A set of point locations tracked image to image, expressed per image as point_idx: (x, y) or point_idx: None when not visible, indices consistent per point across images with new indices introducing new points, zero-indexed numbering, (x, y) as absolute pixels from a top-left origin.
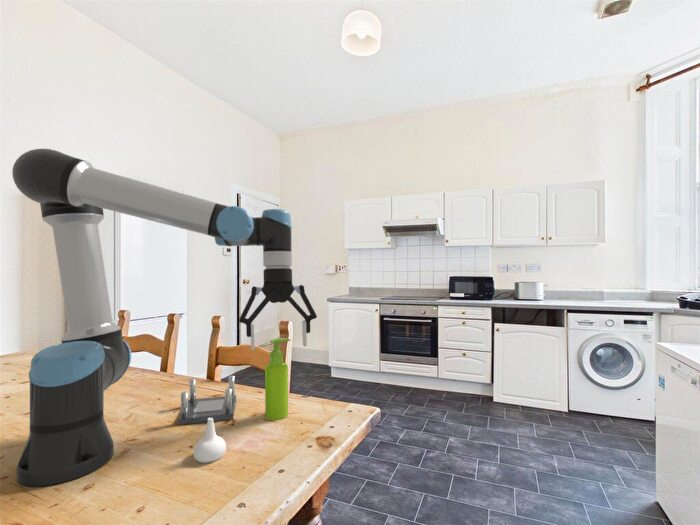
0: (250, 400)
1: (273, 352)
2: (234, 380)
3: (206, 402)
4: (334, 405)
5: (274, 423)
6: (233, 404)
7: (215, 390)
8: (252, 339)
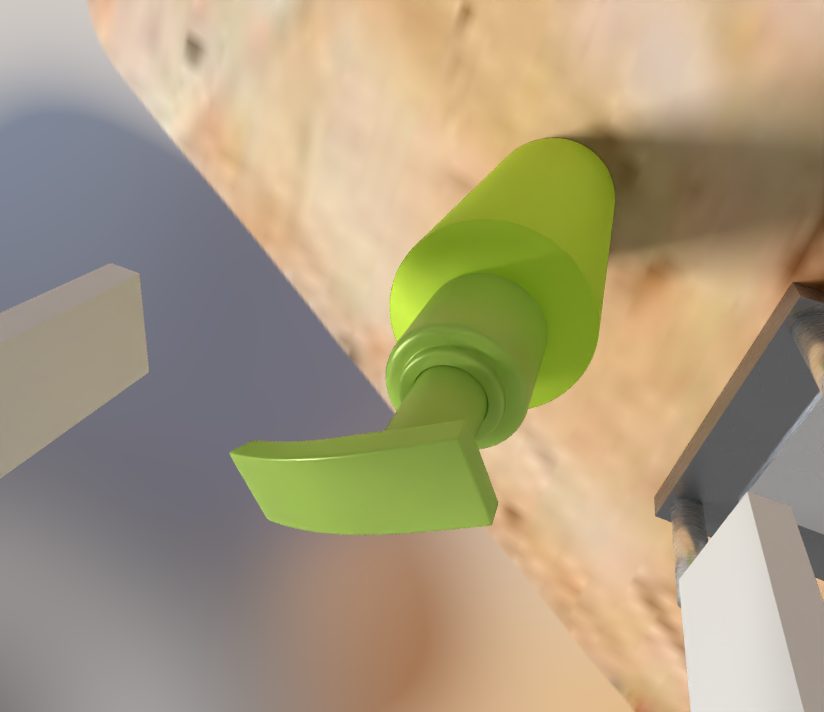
0: (592, 456)
1: (496, 378)
2: (678, 573)
3: None
4: (248, 165)
5: (606, 92)
6: (729, 416)
7: None
8: (812, 641)
